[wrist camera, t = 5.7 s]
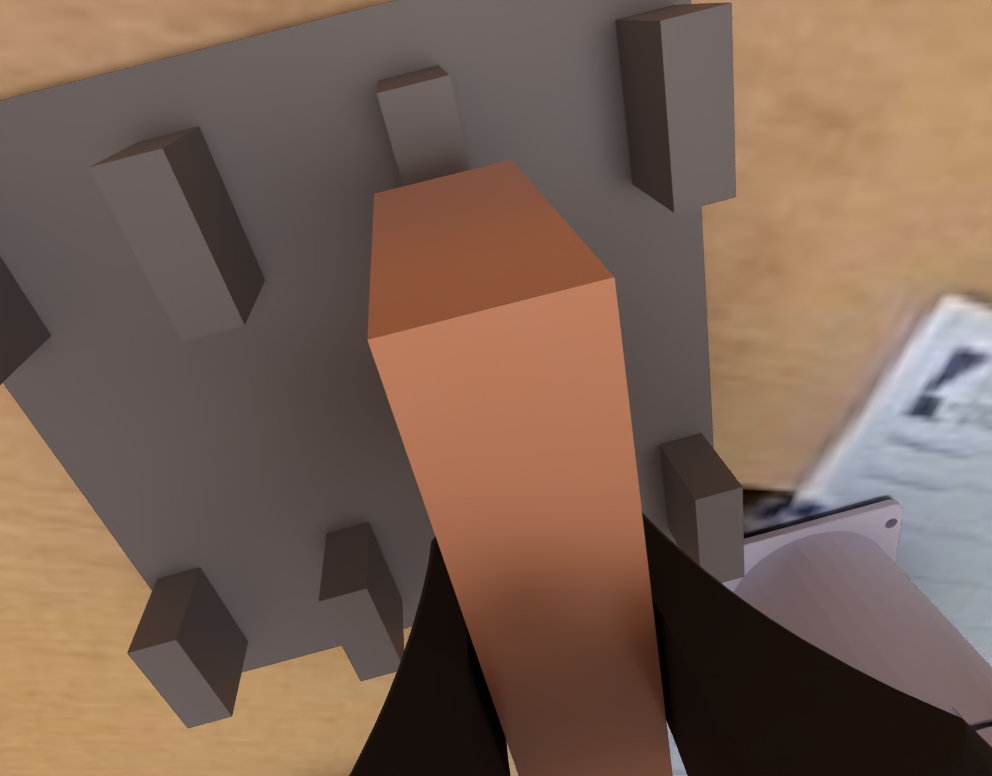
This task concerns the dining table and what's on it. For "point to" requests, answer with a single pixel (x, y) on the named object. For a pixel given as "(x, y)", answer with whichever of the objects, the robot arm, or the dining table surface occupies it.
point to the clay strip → (524, 461)
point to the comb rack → (339, 297)
